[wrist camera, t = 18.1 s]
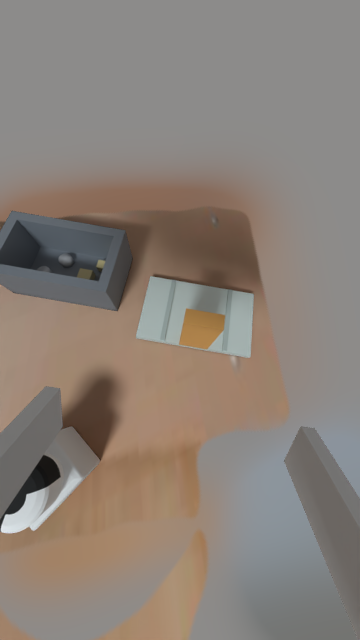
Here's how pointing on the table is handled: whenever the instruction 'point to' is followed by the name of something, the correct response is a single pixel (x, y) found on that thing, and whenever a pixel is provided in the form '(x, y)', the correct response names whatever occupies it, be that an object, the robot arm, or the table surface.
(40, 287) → the tub
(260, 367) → the table surface
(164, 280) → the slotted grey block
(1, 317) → the table surface
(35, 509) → the medicine bottle
